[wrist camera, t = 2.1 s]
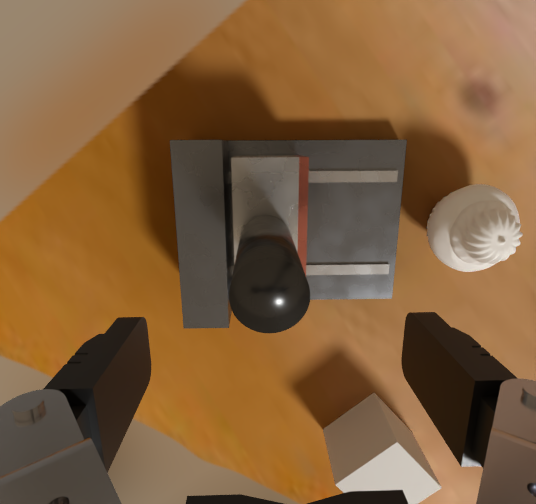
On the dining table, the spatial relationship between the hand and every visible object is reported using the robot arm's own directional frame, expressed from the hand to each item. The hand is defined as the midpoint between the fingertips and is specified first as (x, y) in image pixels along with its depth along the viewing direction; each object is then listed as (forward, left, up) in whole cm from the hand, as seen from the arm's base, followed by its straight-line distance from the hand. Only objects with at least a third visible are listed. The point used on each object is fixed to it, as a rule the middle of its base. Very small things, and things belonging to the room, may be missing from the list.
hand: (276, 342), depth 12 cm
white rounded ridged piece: (0, +14, -19) cm, 23 cm away
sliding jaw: (0, 0, -16) cm, 16 cm away
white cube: (+20, +9, -19) cm, 29 cm away
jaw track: (0, +2, -18) cm, 18 cm away
